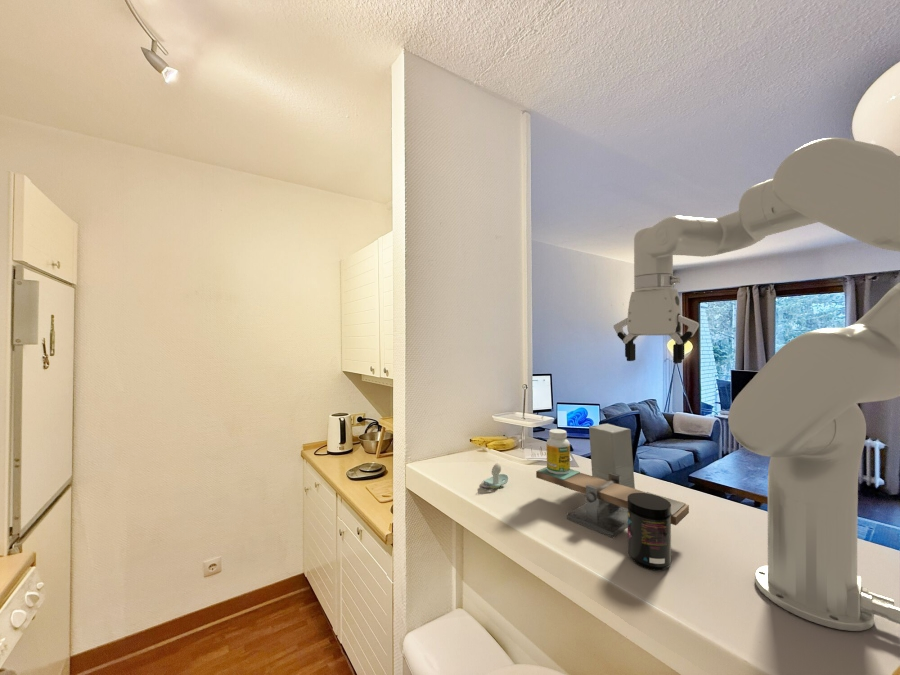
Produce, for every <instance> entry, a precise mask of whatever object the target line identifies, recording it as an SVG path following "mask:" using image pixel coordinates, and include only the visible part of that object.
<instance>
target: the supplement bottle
mask: <svg viewBox="0 0 900 675" xmlns="http://www.w3.org/2000/svg"><path fill="white" fill-rule="evenodd" d="M548 433H549V434H548V435H549V438H547V440H546V467H547V470H548V471H549V472H550V473H553V474H558V475H563V474H568V473H569V472H570V469H571V443H570V441H569V440H568V439H567V437H568V436H567V435H568V433H567V430H565V429H561V428H551V429H549V430H548Z"/></svg>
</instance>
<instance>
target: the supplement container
mask: <svg viewBox="0 0 900 675" xmlns="http://www.w3.org/2000/svg"><path fill="white" fill-rule="evenodd" d="M653 494H654V493H653ZM653 494H648V493H632V494H630V495H628V505H627V507H628V527H627V553H628V556H629V558H630V560H632V562H634V563H635V564H636V565H638V566H640V567H641V568H644V569H647V570H651V571H664V570H666V569H669V568H670V566H671V565H672V524H671V504H670V502H669V501H668V500H666V499H664V498H662V497H660V496H661V495H659V496H657V495H658V494H656V495H653Z"/></svg>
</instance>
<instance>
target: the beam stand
mask: <svg viewBox="0 0 900 675" xmlns="http://www.w3.org/2000/svg"><path fill="white" fill-rule="evenodd" d="M610 480H615V481H616V482H617V484H620V485H621V476H620V475H617V474H613V473H609V481H610ZM566 520H569V521H571V522H573V523H575V524H578V525H581V526H582V527H585V528H588V529H590V530H593V531H595V532H597V533H600V534H602V535H605V536H607V537H609V538H612V539H613V538H615V537H616V536H618V535H619V534H620V533H621V532H623V531H624V530H625V529H626V528H628V509H626V508H623V507H621V506H618V505H615V504H612V503H609V502H606V501H603V500H600V499H599V488H597V487H594V486H591V485H586V494H585V503H583V504H581V505H580V506H578V507H577V508H575V509H573V510H572V511H570V512H569V513H566Z"/></svg>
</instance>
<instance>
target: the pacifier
mask: <svg viewBox="0 0 900 675" xmlns="http://www.w3.org/2000/svg"><path fill="white" fill-rule="evenodd" d="M501 471H502V466H501V464H500V463H495V464H494V465H493V467H492V468H491V475H492V476H491V477H489V478H486V479H484V480H483V481H482V482H481V483H480V487H482V488H485V489H488V488H489V489H491V488H496V489H499V488H501V487H502V486H504V485H506V484H507V483H508V482H509V477H508V475H507V474H504V473H501ZM500 486H501V487H500Z"/></svg>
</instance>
